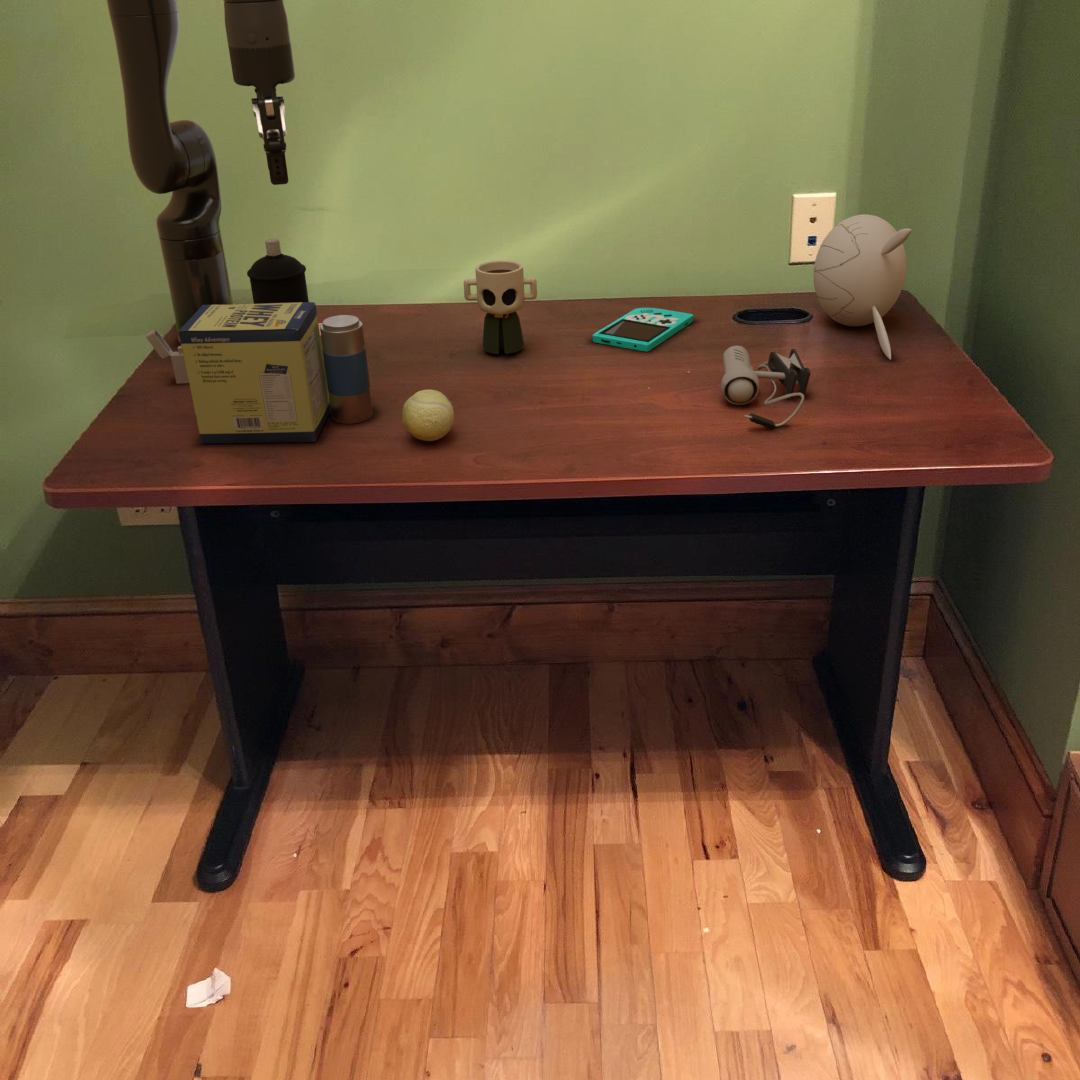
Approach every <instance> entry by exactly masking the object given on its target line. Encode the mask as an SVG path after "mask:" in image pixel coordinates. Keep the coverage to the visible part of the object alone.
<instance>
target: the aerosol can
mask: <svg viewBox="0 0 1080 1080" xmlns="http://www.w3.org/2000/svg"><path fill="white" fill-rule="evenodd" d="M280 242H281V241H280V239H278V238H268V239H266V240H264V244H265V251H266V255H265V256H262V257H260V258H259V259H257V260H255V262H253V264H252V265H251V267H250V268H249V269H248V270H247V271H246V276H247V277H248V278H249V283H250V289H251V295H252V301H253V304H269V303H299V302H310V301H309V293H308V286H307V280H306V279H307V278H306V271H307V267H306V265H304V264H303V263H301V261H300V260H298V259H297V258H295V257H294V256H291V255H288V254H283V253H282V249H281V243H280Z"/></svg>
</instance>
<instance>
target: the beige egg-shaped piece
mask: <svg viewBox="0 0 1080 1080" xmlns="http://www.w3.org/2000/svg"><path fill="white" fill-rule="evenodd" d="M912 231H913V230H912V229H911V228H902V229H899V230H898V231H897V230H896V228H895V227H893V226H892V224H890V222H889V221H887V220H885V219H884V218H882V217H880V216H877V215H874V214H857V215H852V216H849V217H847V218H845V219H843V220H841V221H840V222H839V223H838V224H836V225H835V226H834V227H833V228H831V230H830V231H829V232H828V233H827V235H826V236H825V237H824V239H823V240H822V243H821V244H820V245H819V247H818V251H817V254H816V257H815V259H814V265H813V289H814V292H815V295H816V298H817V302H818V303H819V305H820V307H821V309H822V310H823V311H824V312H825V314H826V315H827V316H828V317H830V318H831V319H832V320H833V321H835V322H836V323H838V324H841V325H843V326H846V327H853V328H854V327H864V326H868V325H870V324H872V323H874V327H875V331H876V336H877V339H878V343H879V347H880V349H881V350H882V352H883V354H884V356H885V357H887V359H888V360H890V361H891V360H892V349H891V343H890V339H889V336H888V333H887V330H886V326H885V325H884V322H883V317H884V316H885V315H886V314H887V313H889V311H890V310H891V309H892V308H893V306H894V305H895V304H896V302H897V301H898V299H899V297H900V295H901V293H902V290H903V288H904V285H905V282H906V275H907V269H908V268H907V264H908V263H907V261H908V260H907V254H906V249H905V246H904V242H906V241H907V240H908V238H909V237H910V235H911V233H912Z"/></svg>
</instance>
